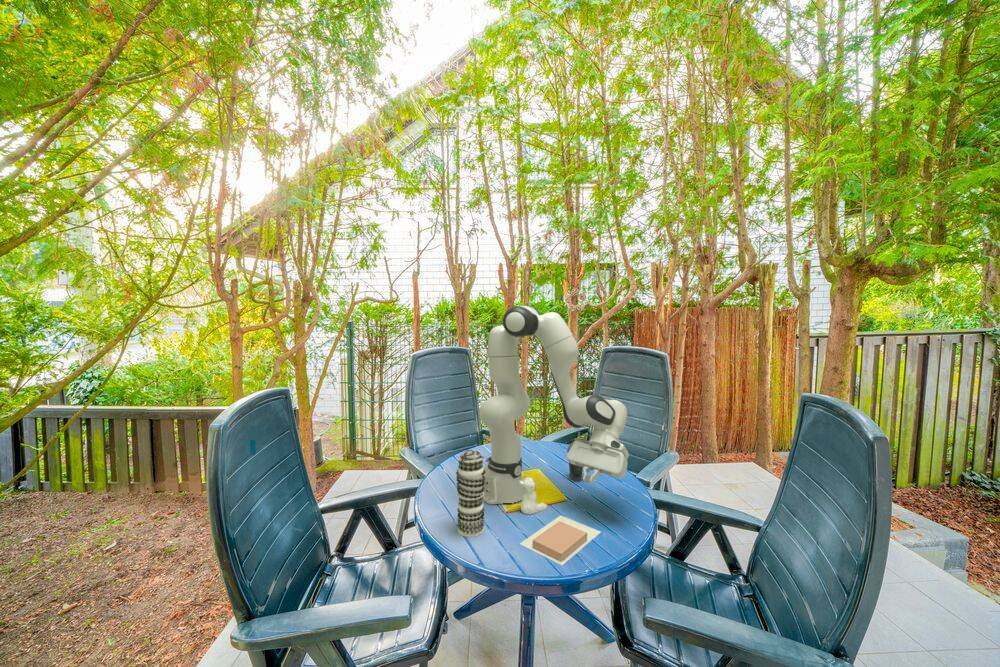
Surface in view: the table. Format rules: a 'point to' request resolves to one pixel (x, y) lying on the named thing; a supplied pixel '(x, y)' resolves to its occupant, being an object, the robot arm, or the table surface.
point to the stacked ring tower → (470, 493)
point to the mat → (590, 531)
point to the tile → (559, 540)
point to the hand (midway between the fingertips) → (587, 481)
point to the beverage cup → (575, 468)
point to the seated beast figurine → (530, 498)
